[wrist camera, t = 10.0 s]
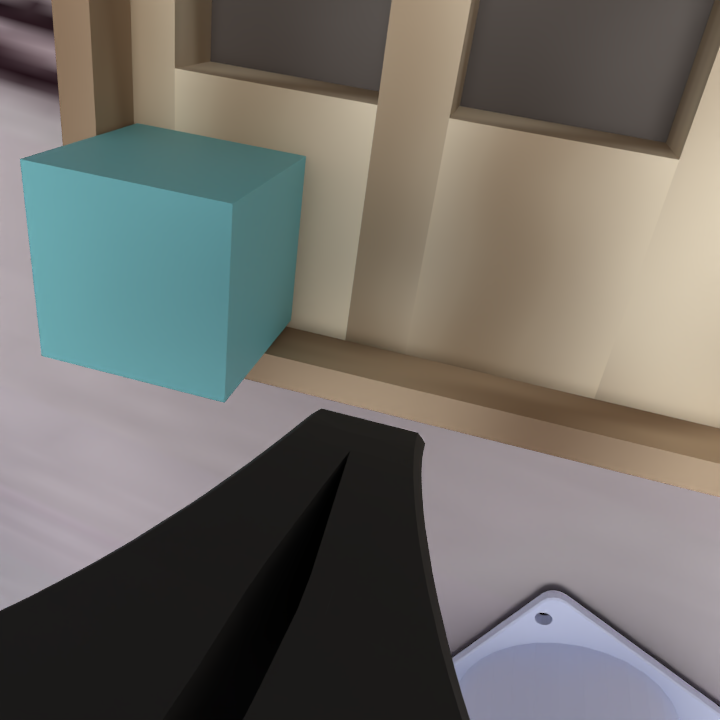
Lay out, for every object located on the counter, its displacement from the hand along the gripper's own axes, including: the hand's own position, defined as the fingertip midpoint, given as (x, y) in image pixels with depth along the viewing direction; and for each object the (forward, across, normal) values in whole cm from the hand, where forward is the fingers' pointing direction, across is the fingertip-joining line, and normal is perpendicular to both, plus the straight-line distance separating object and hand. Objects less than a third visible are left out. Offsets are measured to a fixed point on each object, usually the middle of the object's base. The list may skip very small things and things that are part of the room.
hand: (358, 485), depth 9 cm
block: (+8, +5, 0) cm, 10 cm away
